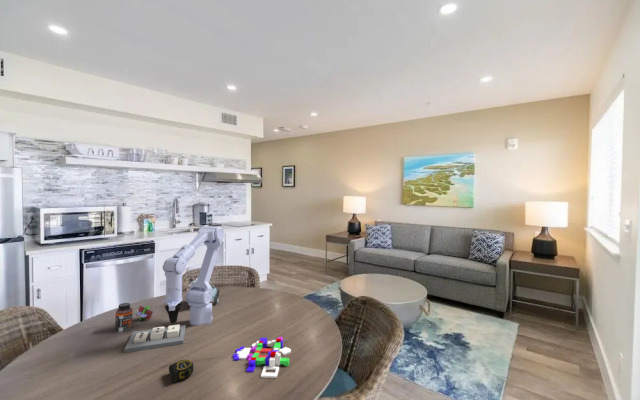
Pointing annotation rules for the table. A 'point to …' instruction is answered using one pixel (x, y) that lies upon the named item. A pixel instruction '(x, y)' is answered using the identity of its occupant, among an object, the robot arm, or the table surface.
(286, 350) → the building block set
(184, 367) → the tape measure
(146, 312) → the geometric puzzle
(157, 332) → the tile
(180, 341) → the keypad board
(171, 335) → the tile
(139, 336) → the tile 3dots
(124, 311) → the supplement bottle
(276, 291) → the table surface
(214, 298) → the lucky cat figurine
